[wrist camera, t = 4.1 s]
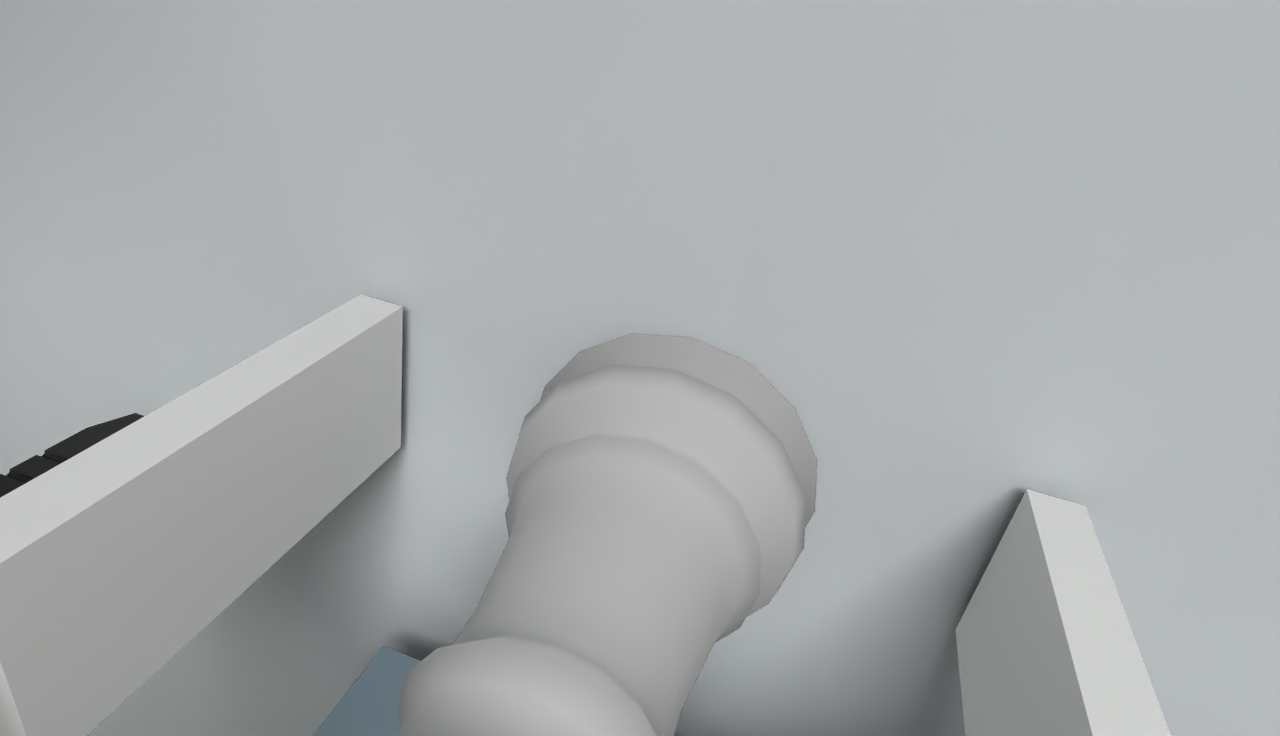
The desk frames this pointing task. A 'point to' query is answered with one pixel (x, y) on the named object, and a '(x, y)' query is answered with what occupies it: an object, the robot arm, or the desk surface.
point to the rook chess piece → (625, 546)
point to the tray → (372, 699)
